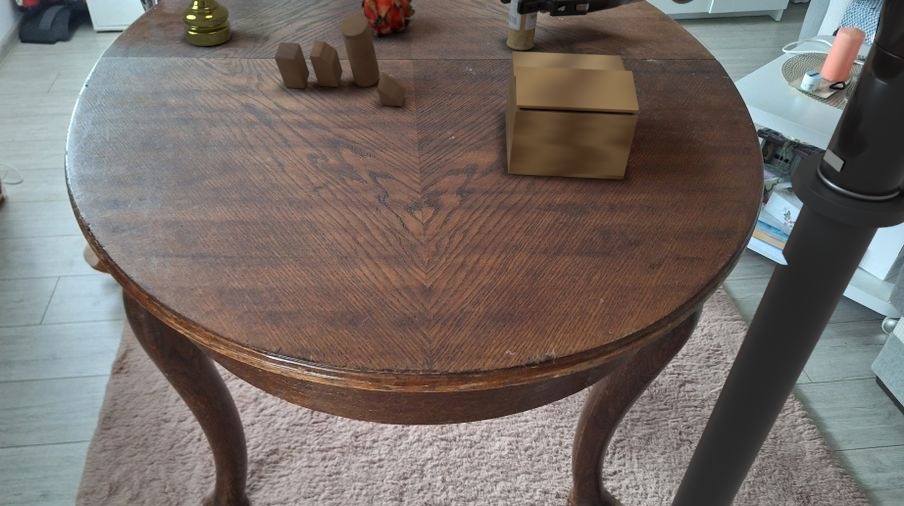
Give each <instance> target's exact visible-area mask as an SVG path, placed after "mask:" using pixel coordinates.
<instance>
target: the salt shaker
mask: <svg viewBox="0 0 904 506" xmlns="http://www.w3.org/2000/svg"><path fill="white" fill-rule="evenodd" d="M180 14H181V15H180V16H181V19H182V21H183V23H184V25H183V30H184V34H185V39H186V41H187V42H188V43H189V44H192V45H194V46H199V47H212V46H218V45H221V44H224V43H226V42H228V41H229V40H230V39H231V38H232V29H231V22H230V21H229V20H228V19H229V15H230V13H229V10H228V7H226V6H225V5H224V4H222V3H219V2H218V0H191V1H190V2H189V3H188V5H187V6H185V8H183V9H182V11H181V13H180Z"/></svg>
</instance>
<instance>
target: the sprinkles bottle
mask: <svg viewBox="0 0 904 506" xmlns="http://www.w3.org/2000/svg"><path fill="white" fill-rule="evenodd" d="M518 1H519V0H511V3H510V5H509V17H508V33H507V34H508V35H507V40H506V45H507V47H508V48H510V49H512V50H515V51H528V50H530V49H533V47H534V46H535V36H536V35H535V34H536V26H537V23H538V22H537V21H538V12H534V13H529V14H523V15H520V14H519V13H517V5H518Z"/></svg>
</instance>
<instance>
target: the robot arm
mask: <svg viewBox="0 0 904 506" xmlns="http://www.w3.org/2000/svg"><path fill="white" fill-rule="evenodd" d="M499 1H500V3H501V4H503V5H509V4H511V0H499ZM644 1H645V0H519V1H518V5H517V13H519V14H520V15H523V14H529V13H534V12H537V13H541V14H547V13H549V16H550V17H552V18H553V17H554V18H555V17H556V18H557V17H572V16H573V17H574V16H587V15H588V14H590V13H591V14H592V13H596V12H601V11H606V10H613V9H615V8H619V7H621V6H624V5H629V4H634V3H635V4H636V3H640V2H644ZM693 1H694V0H671V2H674V3H675V4H678V5H685V4H689V3H691V2H693ZM824 152H825V153H824ZM824 152H823V153H824V155H823V157H822V159H821V161H820V163H819V165H818V167H817V169H816V175H817V178H818V179H819V181H820V182H821V183H822V184H823V185H825V186H826V187H827V188H829V189H830V190H832V191H834V192H836V193H838V194H840V195H842V196H845V197H848V198H851V199H855V200H859V201H865V202H885V201H890V200H892V199H894V198H896V197H904V0H882V3H881V7H880V21H879V26H878V30H877V32H876V35H875V36H874V39H873V41H872V43H871V46H870V48H869V50H868V52H867V55H866V57H865V59H864V62H863V64H862V67H861V69H860V71H859V74H858V76H857V78H856V80H855V82H854V85H853V86H852V89H851V91H850V94H849V96H848V98H847V101H846V103H845V106H844V107H843V110H842V112H841V115H840V116H839V120H838V122H837V124H836V126H835V128H834V130H833V133H832V135H831V137H830V140H829V142H828V144H827V147H826V148H825V151H824Z"/></svg>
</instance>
